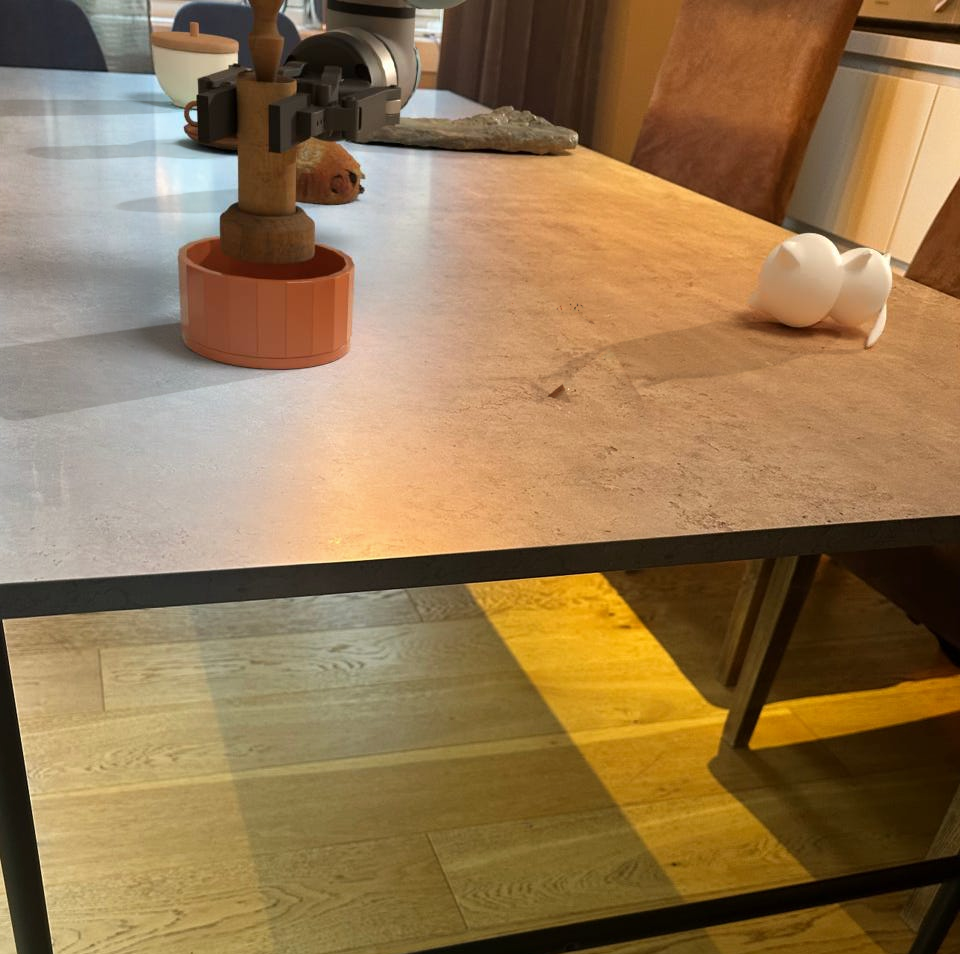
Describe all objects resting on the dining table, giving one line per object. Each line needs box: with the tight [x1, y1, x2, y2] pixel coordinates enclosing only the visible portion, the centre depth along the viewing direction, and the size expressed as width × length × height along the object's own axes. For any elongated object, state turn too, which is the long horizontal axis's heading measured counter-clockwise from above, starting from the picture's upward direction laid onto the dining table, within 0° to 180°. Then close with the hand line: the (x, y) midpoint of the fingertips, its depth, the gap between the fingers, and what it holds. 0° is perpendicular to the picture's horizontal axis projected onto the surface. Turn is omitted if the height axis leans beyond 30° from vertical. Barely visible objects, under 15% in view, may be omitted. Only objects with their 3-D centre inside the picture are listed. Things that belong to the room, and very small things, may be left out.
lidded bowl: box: [149, 21, 240, 110], centre depth 161 cm, size 13×13×11 cm
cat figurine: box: [746, 232, 893, 348], centre depth 95 cm, size 9×11×12 cm
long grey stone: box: [353, 105, 579, 156], centre depth 157 cm, size 35×5×10 cm
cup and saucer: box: [183, 101, 238, 151], centre depth 139 cm, size 12×12×6 cm
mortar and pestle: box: [219, 0, 316, 264], centre depth 72 cm, size 7×6×18 cm
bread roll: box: [296, 137, 367, 205], centre depth 121 cm, size 10×10×8 cm
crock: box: [177, 235, 356, 370], centre depth 78 cm, size 12×12×6 cm
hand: (238, 124), depth 67 cm, fingers closed on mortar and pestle, 4 cm apart
